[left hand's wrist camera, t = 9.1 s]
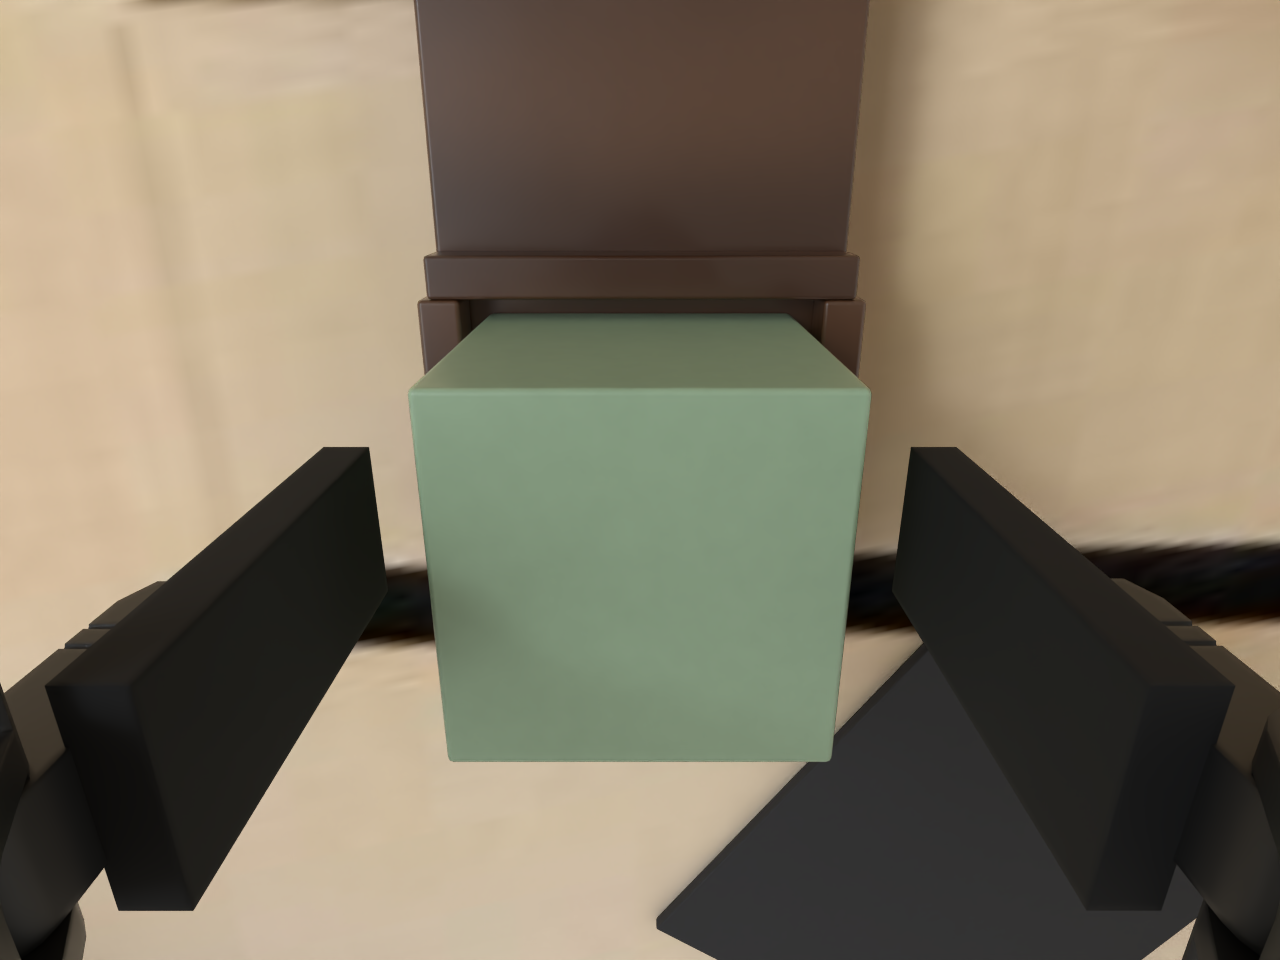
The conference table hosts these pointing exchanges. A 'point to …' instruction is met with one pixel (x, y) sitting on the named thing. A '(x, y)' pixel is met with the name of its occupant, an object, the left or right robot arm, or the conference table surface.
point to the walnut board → (641, 161)
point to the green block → (639, 536)
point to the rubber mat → (905, 856)
